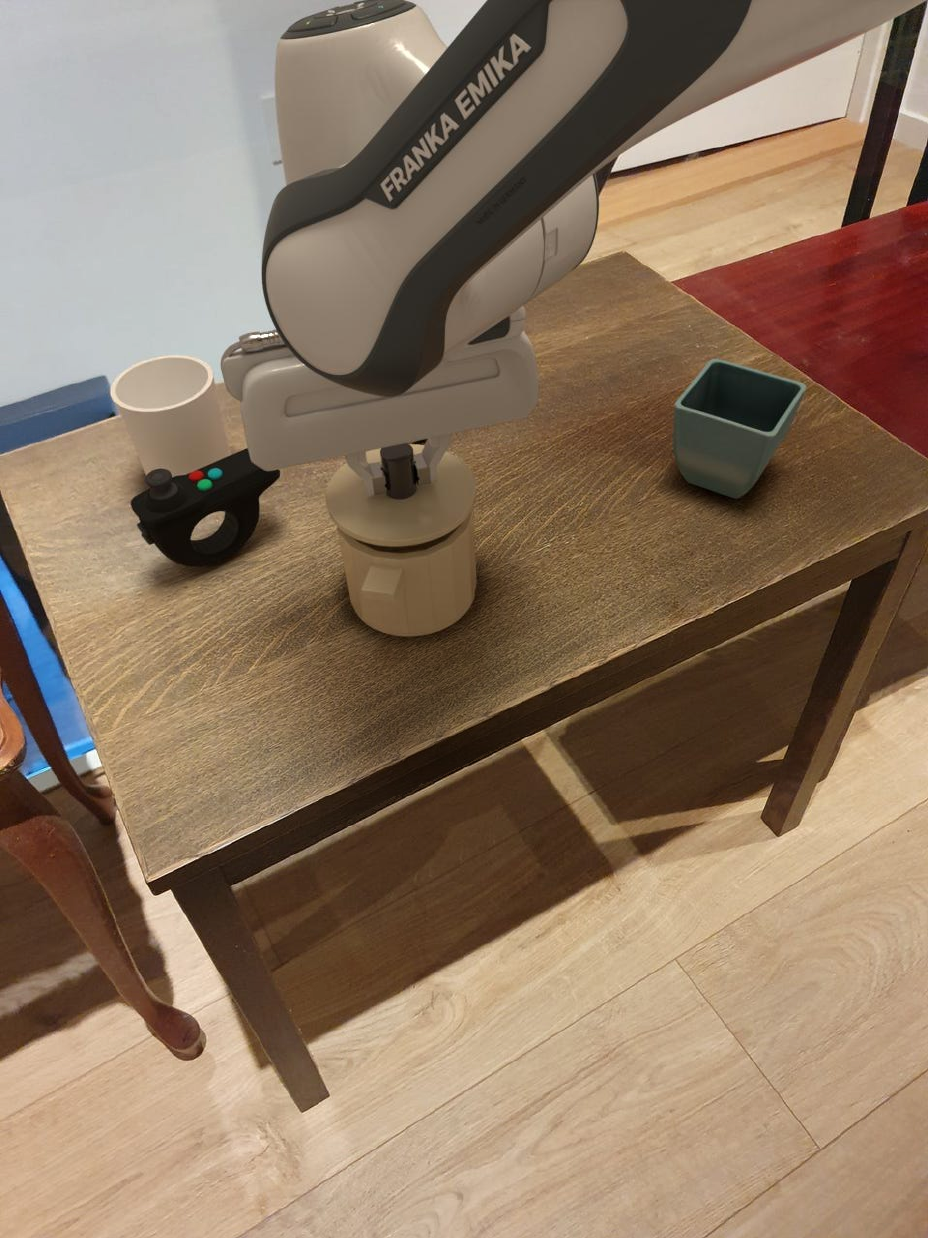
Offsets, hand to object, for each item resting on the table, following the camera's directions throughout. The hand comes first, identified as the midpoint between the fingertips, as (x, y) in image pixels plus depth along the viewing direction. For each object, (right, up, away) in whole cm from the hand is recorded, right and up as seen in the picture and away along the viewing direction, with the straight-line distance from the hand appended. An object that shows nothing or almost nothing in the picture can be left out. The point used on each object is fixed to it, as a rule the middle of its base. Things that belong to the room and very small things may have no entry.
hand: (400, 484), depth 66 cm
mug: (-22, +4, +21) cm, 30 cm away
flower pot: (+29, +3, +17) cm, 33 cm away
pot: (0, -7, +8) cm, 11 cm away
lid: (0, -1, +1) cm, 1 cm away
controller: (-16, -4, +13) cm, 21 cm away
